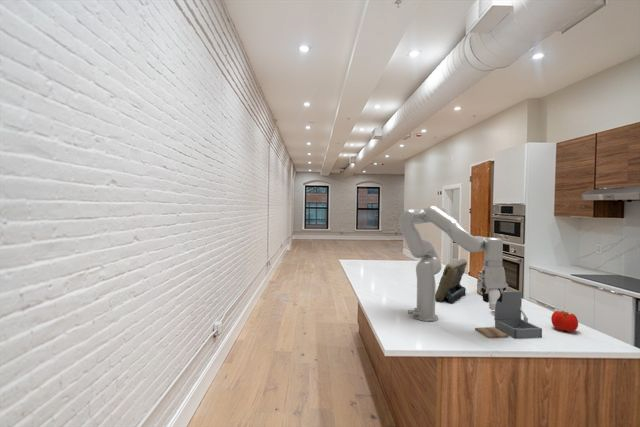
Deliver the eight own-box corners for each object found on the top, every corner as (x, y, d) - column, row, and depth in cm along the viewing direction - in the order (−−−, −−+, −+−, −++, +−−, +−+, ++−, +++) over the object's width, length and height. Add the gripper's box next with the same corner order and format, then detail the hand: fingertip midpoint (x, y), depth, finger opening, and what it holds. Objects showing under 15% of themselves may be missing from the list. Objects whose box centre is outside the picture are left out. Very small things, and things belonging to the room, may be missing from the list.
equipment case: (514, 338, 143) (515, 299, 143) (494, 327, 157) (495, 291, 157) (542, 337, 145) (543, 298, 145) (519, 326, 159) (520, 290, 159)
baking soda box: (477, 293, 222) (477, 270, 222) (486, 293, 222) (487, 270, 222) (483, 296, 213) (483, 273, 213) (492, 297, 212) (493, 273, 212)
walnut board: (488, 338, 143) (488, 336, 143) (474, 329, 153) (474, 327, 153) (508, 337, 145) (508, 335, 145) (493, 329, 154) (493, 327, 154)
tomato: (545, 325, 160) (546, 309, 160) (567, 326, 160) (568, 309, 160) (561, 334, 150) (561, 316, 149) (584, 334, 149) (585, 316, 149)
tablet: (446, 290, 227) (447, 256, 227) (467, 294, 219) (467, 258, 219) (433, 301, 200) (434, 262, 200) (457, 305, 192) (458, 264, 192)
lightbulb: (499, 312, 144) (500, 289, 144) (484, 310, 147) (484, 287, 147) (500, 309, 149) (500, 286, 149) (485, 306, 153) (485, 284, 153)
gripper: (481, 265, 143) (480, 304, 143) (515, 264, 146) (514, 303, 146) (471, 262, 151) (470, 299, 151) (503, 262, 153) (503, 298, 153)
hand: (492, 301), depth 148 cm, fingers closed on lightbulb, 6 cm apart
